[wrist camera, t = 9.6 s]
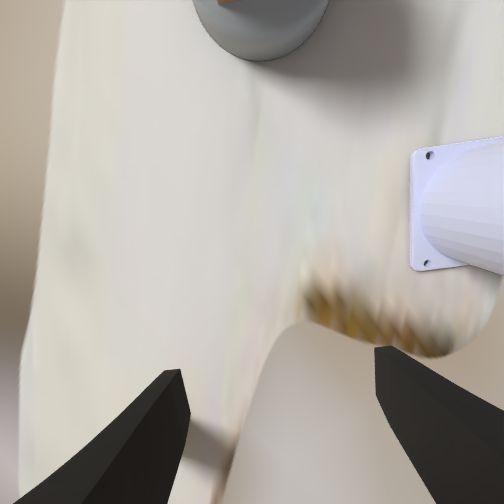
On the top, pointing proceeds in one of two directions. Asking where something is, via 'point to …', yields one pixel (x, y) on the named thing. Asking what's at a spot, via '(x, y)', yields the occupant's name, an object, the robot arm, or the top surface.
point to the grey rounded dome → (260, 25)
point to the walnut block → (225, 1)
